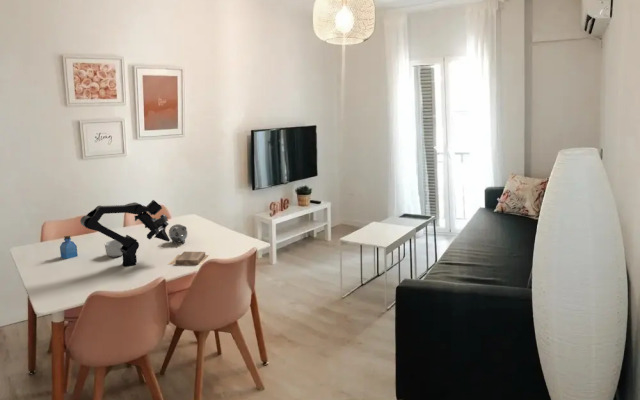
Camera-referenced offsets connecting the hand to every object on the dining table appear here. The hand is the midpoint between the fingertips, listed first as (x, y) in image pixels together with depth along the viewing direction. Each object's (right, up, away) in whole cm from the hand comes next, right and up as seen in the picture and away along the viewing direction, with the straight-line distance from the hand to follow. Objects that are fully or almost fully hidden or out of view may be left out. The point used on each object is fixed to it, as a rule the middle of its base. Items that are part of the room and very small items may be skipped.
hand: (169, 240), depth 267 cm
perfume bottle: (-60, -10, +9) cm, 61 cm away
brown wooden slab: (+5, -9, +2) cm, 11 cm away
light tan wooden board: (+10, -11, +3) cm, 15 cm away
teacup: (-34, -9, +13) cm, 38 cm away
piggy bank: (-5, -4, +37) cm, 38 cm away
